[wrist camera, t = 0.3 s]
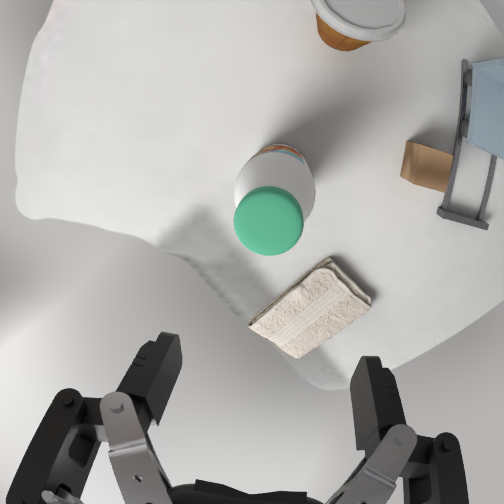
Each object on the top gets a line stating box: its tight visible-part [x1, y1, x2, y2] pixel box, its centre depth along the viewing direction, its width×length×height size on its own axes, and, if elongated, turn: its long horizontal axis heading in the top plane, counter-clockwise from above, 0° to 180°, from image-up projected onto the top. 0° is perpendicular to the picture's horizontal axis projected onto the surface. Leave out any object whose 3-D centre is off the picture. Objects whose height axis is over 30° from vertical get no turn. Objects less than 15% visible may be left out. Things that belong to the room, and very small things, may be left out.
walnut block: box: [400, 141, 453, 193], centre depth 30 cm, size 5×5×5 cm
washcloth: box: [248, 258, 372, 358], centre depth 44 cm, size 12×18×3 cm, turn 140°
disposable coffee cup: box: [311, 0, 405, 51], centre depth 21 cm, size 10×10×12 cm
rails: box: [437, 60, 497, 230], centre depth 28 cm, size 24×10×2 cm, turn 175°
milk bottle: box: [234, 144, 316, 256], centre depth 27 cm, size 8×8×20 cm
